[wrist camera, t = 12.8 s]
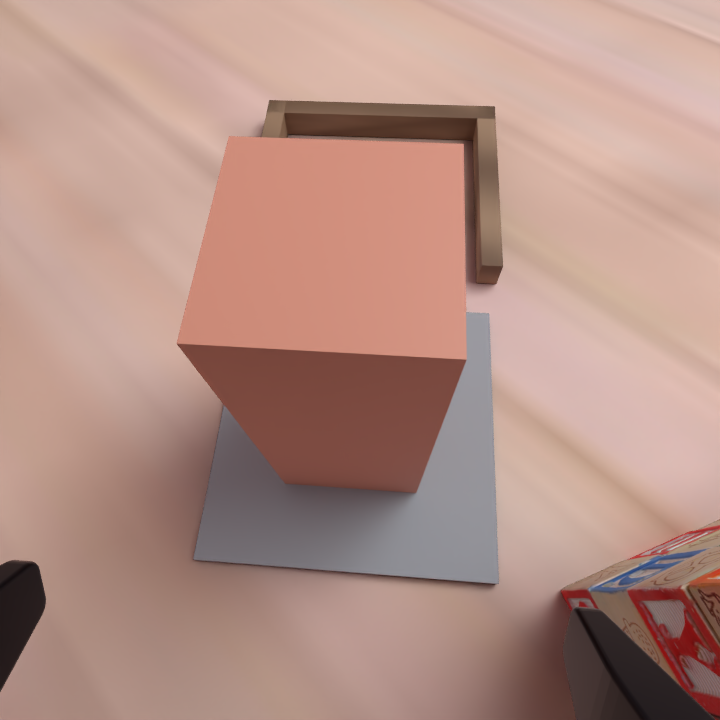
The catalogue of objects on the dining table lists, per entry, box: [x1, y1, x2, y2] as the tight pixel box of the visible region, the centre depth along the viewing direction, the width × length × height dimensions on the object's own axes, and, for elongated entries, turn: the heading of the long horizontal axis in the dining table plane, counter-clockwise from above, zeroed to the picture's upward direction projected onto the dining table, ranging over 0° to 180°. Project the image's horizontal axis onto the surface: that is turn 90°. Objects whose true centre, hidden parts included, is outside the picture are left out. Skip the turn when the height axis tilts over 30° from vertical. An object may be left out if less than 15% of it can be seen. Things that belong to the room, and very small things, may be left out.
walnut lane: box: [262, 100, 503, 284], centre depth 28 cm, size 11×13×2 cm
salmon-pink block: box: [177, 136, 467, 493], centre depth 17 cm, size 6×6×13 cm
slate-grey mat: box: [193, 312, 499, 584], centre depth 23 cm, size 12×12×1 cm
